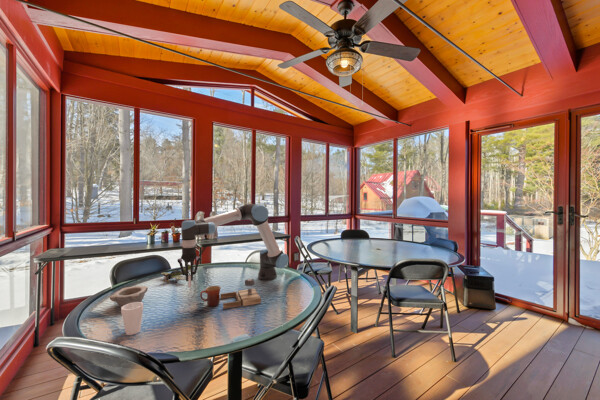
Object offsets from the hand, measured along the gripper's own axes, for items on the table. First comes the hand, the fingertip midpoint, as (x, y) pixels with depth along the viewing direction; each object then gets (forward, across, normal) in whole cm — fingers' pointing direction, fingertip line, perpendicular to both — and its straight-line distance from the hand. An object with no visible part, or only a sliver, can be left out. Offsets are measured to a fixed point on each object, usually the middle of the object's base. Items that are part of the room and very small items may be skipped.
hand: (189, 286), depth 159 cm
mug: (+14, +12, 0) cm, 18 cm away
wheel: (+4, +36, 0) cm, 36 cm away
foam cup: (+14, -26, -17) cm, 34 cm away
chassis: (+13, +30, 0) cm, 33 cm away
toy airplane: (+14, -8, +62) cm, 64 cm away
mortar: (+14, -34, +20) cm, 42 cm away
